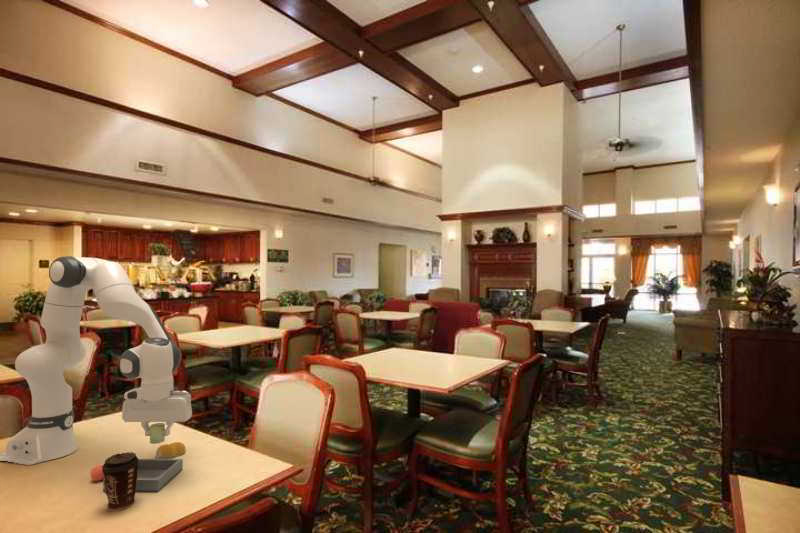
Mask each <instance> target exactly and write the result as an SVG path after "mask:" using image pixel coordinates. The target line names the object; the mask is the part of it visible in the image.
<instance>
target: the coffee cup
mask: <svg viewBox="0 0 800 533" xmlns="http://www.w3.org/2000/svg"><path fill="white" fill-rule="evenodd" d="M139 459H140V458H138V456H137V455H136V453H134V452H132V451H131V452H121V453H116V454H112V455H111V456H109V457H107V458H106V459H105V460H104V464H102V465H103V466H102V471H103V474H104V477H105V478H104V479H103V480H104V486H105V492H104V493H105V495H106V497H107V500H108V503H107V506H106V509H107V510H108V511H112V512H118V511H122V510H124V509H126V508H130V507H131V506H132V505H133V504H134V503H135V501H136V500H135V499H136V498H135V497H136V492H135V491H136V487H137V469H138V463H139V462H138V460H139Z"/></svg>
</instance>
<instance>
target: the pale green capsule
mask: <svg viewBox="0 0 800 533" xmlns="http://www.w3.org/2000/svg"><path fill="white" fill-rule="evenodd" d="M165 426H166V423H165V422H155V423H152V424H150V425H149V427H150V436H149V443H150V444H152V445H156V444H161V443H163V442H165V441H166V436H163V435H162V434H163V433H162V431H163V430H164V429H166V428H165Z"/></svg>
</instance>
